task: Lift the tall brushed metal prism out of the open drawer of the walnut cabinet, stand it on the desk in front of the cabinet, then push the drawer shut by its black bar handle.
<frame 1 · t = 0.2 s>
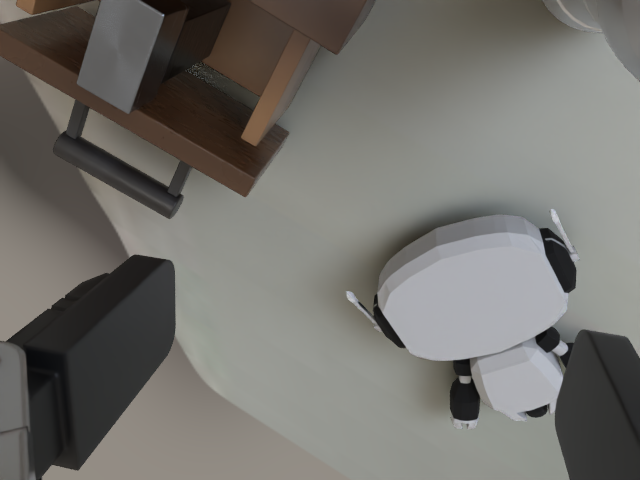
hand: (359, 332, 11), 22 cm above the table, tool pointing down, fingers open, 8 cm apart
tall brushed metal prism: (199, 18, 29), point 2 cm above the table, touching drawer
robot toy: (489, 304, 37), on the table
drawer: (180, 29, 27), point 4 cm above the table, slide at 7.0 cm, touching tall brushed metal prism
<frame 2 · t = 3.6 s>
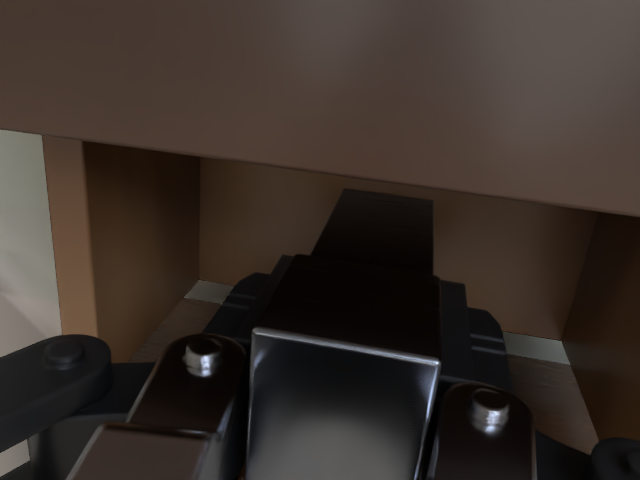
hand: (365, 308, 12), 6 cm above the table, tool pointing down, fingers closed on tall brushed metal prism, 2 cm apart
tall brushed metal prism: (381, 245, 16), point 2 cm above the table, touching drawer, gripper
drawer: (371, 291, 14), point 4 cm above the table, slide at 7.0 cm, touching tall brushed metal prism
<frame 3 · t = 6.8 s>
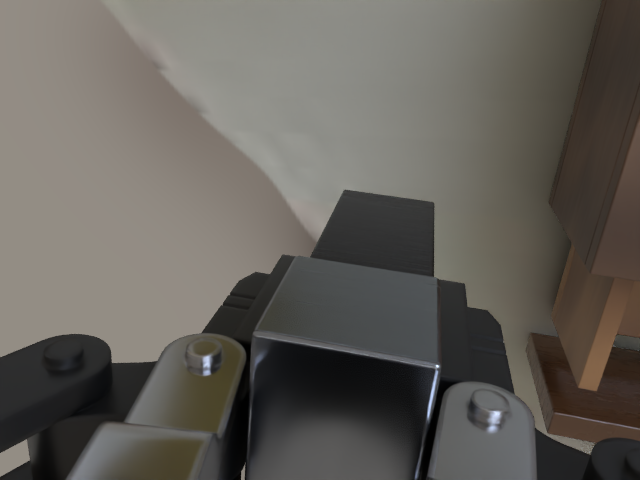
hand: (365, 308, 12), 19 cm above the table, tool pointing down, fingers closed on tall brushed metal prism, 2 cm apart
tall brushed metal prism: (381, 247, 16), point 15 cm above the table, touching gripper
when the fingers open (4 cm above the table, at t = 10.5 s): tall brushed metal prism stays where it is, on the table.
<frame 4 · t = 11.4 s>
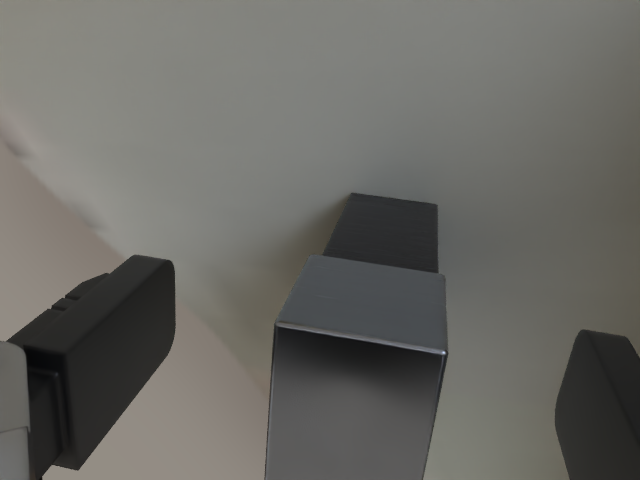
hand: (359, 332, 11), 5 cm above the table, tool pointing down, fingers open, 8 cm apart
tall brushed metal prism: (386, 247, 16), on the table
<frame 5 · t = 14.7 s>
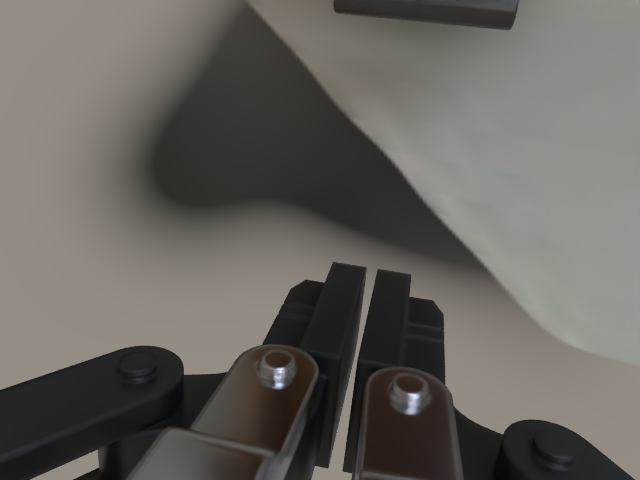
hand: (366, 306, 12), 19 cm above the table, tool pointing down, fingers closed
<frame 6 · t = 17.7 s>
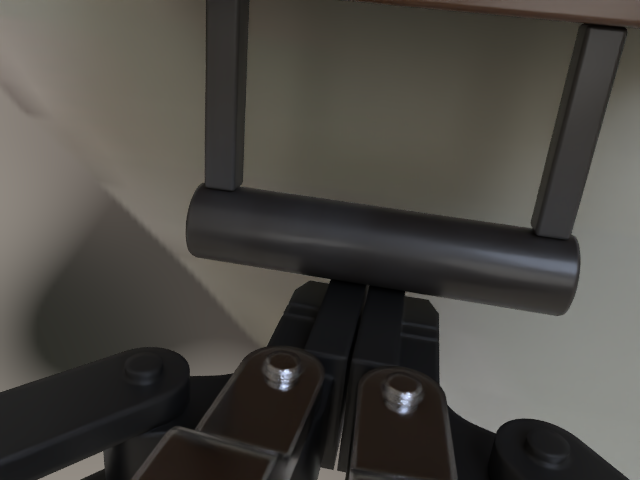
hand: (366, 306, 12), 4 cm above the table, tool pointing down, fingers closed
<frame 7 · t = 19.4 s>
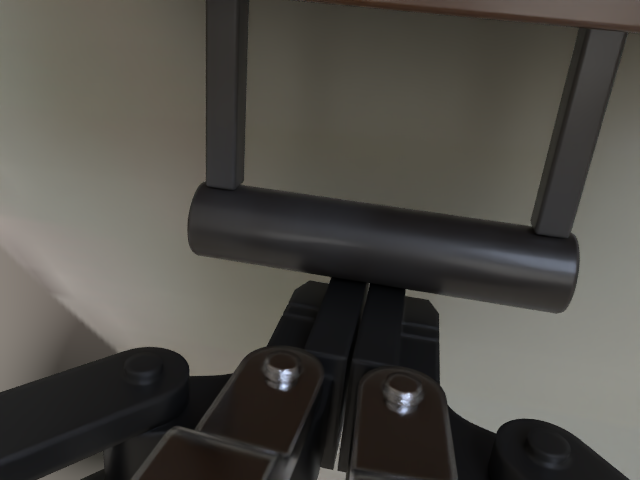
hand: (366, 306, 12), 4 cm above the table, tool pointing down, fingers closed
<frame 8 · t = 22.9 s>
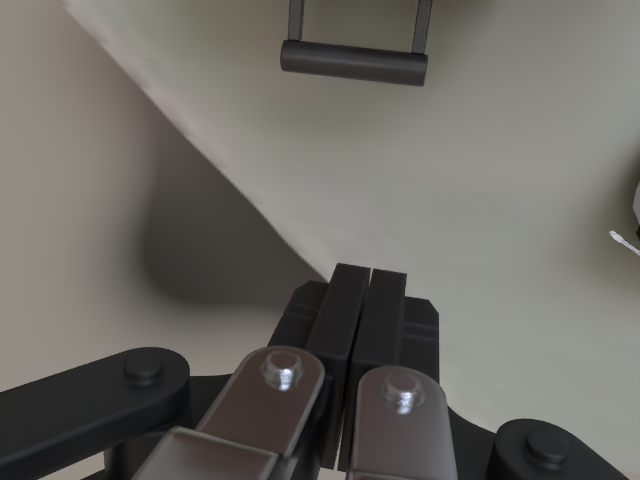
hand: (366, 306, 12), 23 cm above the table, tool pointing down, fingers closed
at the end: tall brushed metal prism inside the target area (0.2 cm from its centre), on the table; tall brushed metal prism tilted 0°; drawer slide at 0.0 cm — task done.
